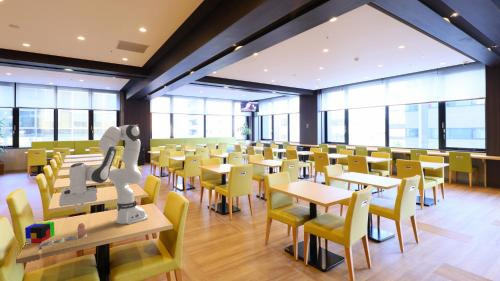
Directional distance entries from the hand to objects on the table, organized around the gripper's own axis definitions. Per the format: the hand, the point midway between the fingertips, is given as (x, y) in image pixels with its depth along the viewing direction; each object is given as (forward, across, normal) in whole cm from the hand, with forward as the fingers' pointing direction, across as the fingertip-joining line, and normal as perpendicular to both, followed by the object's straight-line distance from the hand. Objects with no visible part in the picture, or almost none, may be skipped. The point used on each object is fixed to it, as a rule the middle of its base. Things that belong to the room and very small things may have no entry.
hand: (79, 210), depth 167 cm
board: (+17, +8, +2) cm, 19 cm away
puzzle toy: (+18, +20, -10) cm, 28 cm away
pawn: (+16, -1, +1) cm, 16 cm away
